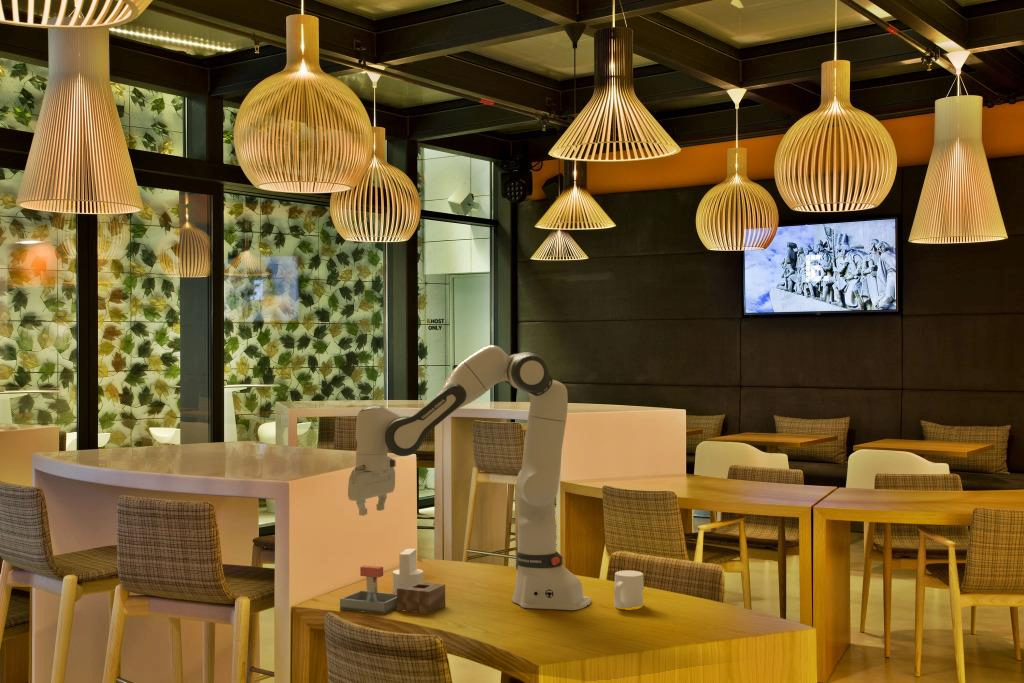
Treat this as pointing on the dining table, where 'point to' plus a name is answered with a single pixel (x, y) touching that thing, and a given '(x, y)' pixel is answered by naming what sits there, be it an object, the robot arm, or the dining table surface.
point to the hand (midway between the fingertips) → (371, 512)
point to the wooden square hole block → (420, 596)
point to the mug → (628, 589)
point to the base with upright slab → (406, 570)
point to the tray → (369, 602)
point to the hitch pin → (371, 580)
